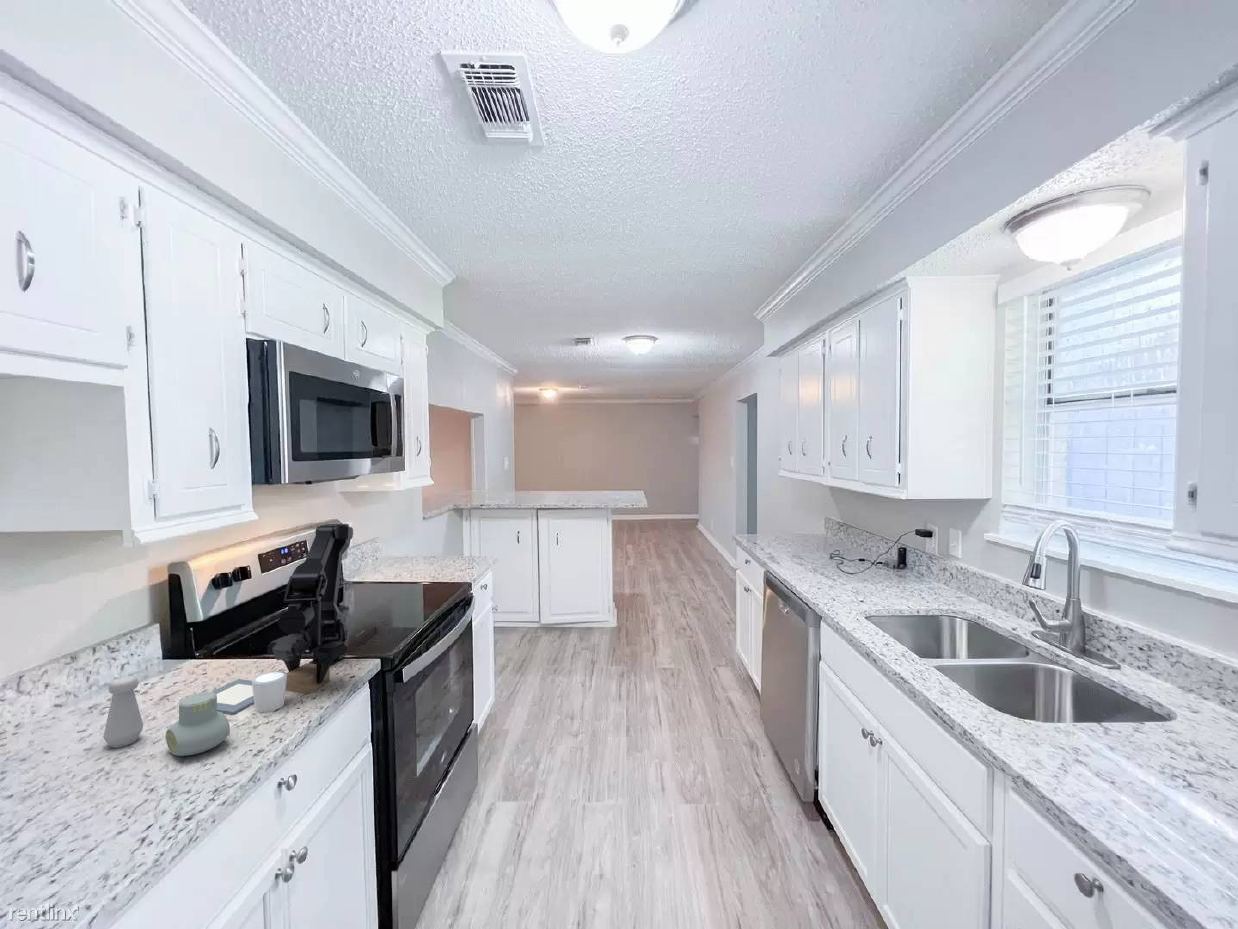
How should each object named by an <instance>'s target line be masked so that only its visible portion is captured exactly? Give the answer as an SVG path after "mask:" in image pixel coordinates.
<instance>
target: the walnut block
mask: <svg viewBox="0 0 1238 929" xmlns="http://www.w3.org/2000/svg"><path fill="white" fill-rule="evenodd" d="M330 669H331V666H330V667H329V669H328V671H327V673H326V675H325V677H324V679H323V681H322V683H320V684H318V683H317V665H316V664H309V662H308V663H305V664H302V665H300V667H298V668H296V669H294V670H292V671H290V672H289V671H288V672H286V673H287V681H286V690H285V692H286V691H287V692H292V693H293V692H295V693H302V694H310V693H312V692H314V691H315V690H317V689H319V688H321V687H322V686H324V685H326V684H328V683H329V682H330V681H331V677H330V676H331V675H330V674H331V672H330Z"/></svg>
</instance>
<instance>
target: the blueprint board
mask: <svg viewBox="0 0 1238 929" xmlns="http://www.w3.org/2000/svg"><path fill="white" fill-rule="evenodd" d="M211 692H213V693H215V694H216V695H217V712H222V713H223V714H224V715H225V714H227V715H236V714H238V713H239V711H240V712H241V711H244V710H245V709H247V708H250V705H251V706H253V705H254V696H253V687H252V679H243V678H238V679H236V680H234V681H232V682H229V683H227V684H225V685H223V686H221V687H219V688H217V689H214V690H212V691H211Z"/></svg>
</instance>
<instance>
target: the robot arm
mask: <svg viewBox="0 0 1238 929" xmlns="http://www.w3.org/2000/svg"><path fill="white" fill-rule="evenodd" d="M353 536H354V529H353V527H352V526H350V525H349V524H348V523H324V524H320V525H319V526H317V527H316V529H315V535H314V539H313V541H312V543H311V546H310V548H309V551H308V554H307V555H306V558H305V560H304V562H302V563H300V564H298V565H297V566H296V567H295V569H294V571H293V572H292V574H291V575H290V576H289V577H288V580H287V585H286V589H285V593H284V598H283V603H284V604H285V603H286V604H287V603H289V604H288V605H287V609H286V610H285V611H284V612H283V613H282V614H281V615H280V616H279V619H278V620H277V624H278V625H277V626H278V627H279V629H280V630H281V631H282V632H283V633H284V634H288V635H284V636H282V637H280V638H277V639H275V640H272V641H270V642H269V644H268V645H267V655H271V656H273V655H274V658H275V660H277V661H280V660H281V661H282V662H284V664H285V667H286V669H287V671H288V672H290V671H292V670H294V669H296V668H298V667H300V666H301V661H302V655H303V654H304V653H312V660H310V661H308V663H309V664H316V665H317V683H318V684H320V683H322V681H323V679H324V677H325V675H326V673H327V671H328V669H329V667H330V668H331V666H332V665H334V664H335V663H338V662H339V661H341V660H343V659H345V656H344V655H345V654H347V653H348V652H347V651H348V644H347V643H346V642H345V641H343V640H346V639H347V628H346V626H345V623H344V621H343V619H342V613H341V610H340V609H339V607H338V605H337V603H338V595H339V587H340V580H341V579H340V578H341V572H342V570H341V569H342V562H343V561H342V560H343V554H345V552H346V551H347V550H348V549H349V547H350V546H351V540H352V539H353Z"/></svg>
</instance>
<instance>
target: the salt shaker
mask: <svg viewBox="0 0 1238 929" xmlns="http://www.w3.org/2000/svg"><path fill="white" fill-rule="evenodd" d="M138 686H139V679H138V677H136V676H134V675H127V676H122V677H118V678H115V679H114V680H112V681H111V682H109V685H108V693H109V694H111V695H112V696H111V702H110V706H109V710H108V714H107V718H106V724H105V728H104V731H103V736H102V737H103V739H104V741H105V742H106V743H107V745H108V746H109V747H110V748H113V749H119V748H123V747H127V746H130V745H131V744H130V743H132V742H133V743H135V742H137V741H138V740H139V738H140V735H141V733H142V731H143V729H144V728H143V727H144V722H143V718H142V715H141V712H140V709H139V704H138V701H137V696H136V694H135V689H137V688H138ZM136 740H137V741H136ZM133 743H132V744H133ZM129 744H130V745H129Z"/></svg>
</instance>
